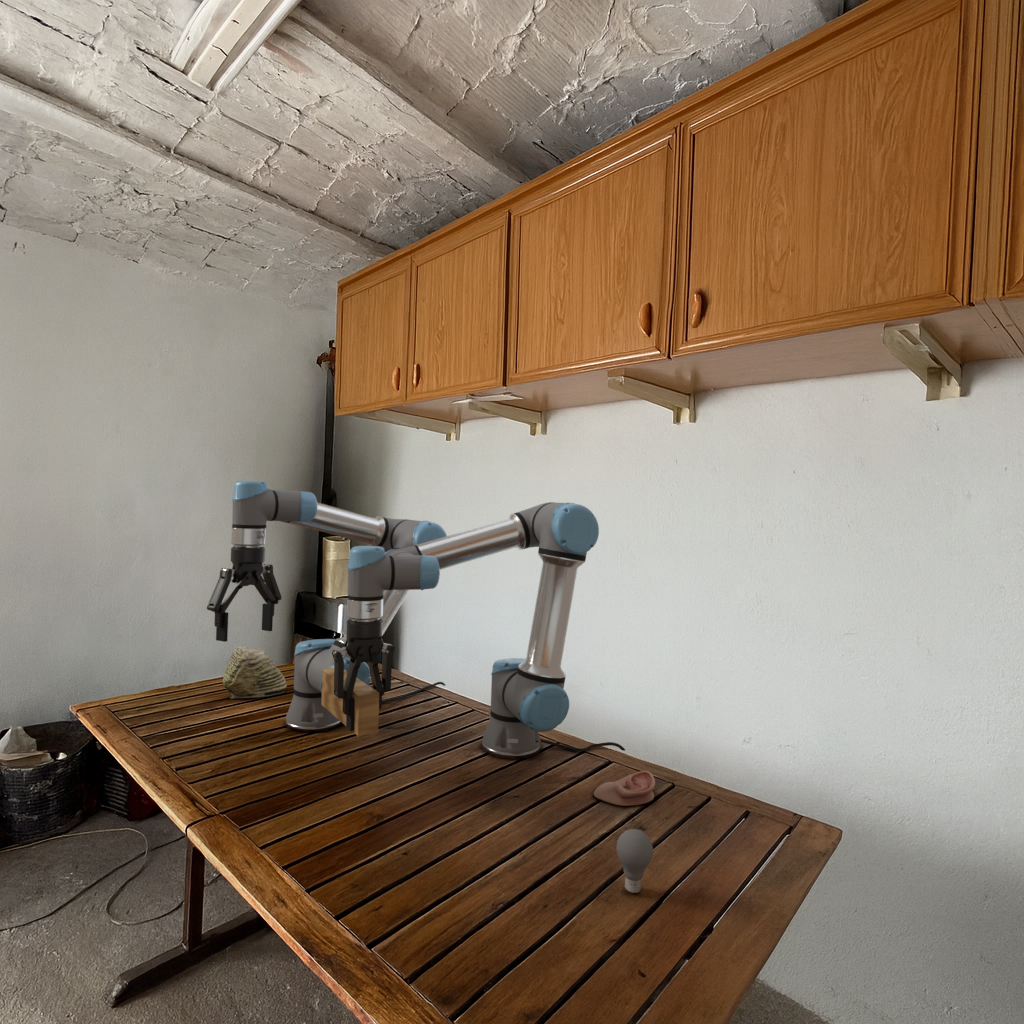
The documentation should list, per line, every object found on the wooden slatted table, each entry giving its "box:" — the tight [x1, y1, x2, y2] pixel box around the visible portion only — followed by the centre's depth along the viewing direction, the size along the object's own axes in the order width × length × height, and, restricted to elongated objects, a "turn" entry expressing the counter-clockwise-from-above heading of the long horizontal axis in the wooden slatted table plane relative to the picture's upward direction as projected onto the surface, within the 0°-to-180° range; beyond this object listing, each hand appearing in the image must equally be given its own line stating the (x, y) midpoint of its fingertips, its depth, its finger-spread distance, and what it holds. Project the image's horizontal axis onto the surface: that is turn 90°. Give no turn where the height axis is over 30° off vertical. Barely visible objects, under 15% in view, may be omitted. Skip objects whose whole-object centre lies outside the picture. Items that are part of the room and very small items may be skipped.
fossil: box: [222, 646, 288, 699], centre depth 198 cm, size 9×18×15 cm, turn 132°
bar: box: [321, 668, 380, 737], centre depth 142 cm, size 23×4×8 cm, turn 35°
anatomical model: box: [593, 770, 656, 807], centre depth 141 cm, size 13×4×12 cm
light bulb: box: [615, 828, 654, 894], centre depth 106 cm, size 6×6×10 cm
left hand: (245, 635), depth 150 cm, fingers open, 13 cm apart
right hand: (361, 726), depth 136 cm, fingers closed on bar, 5 cm apart
